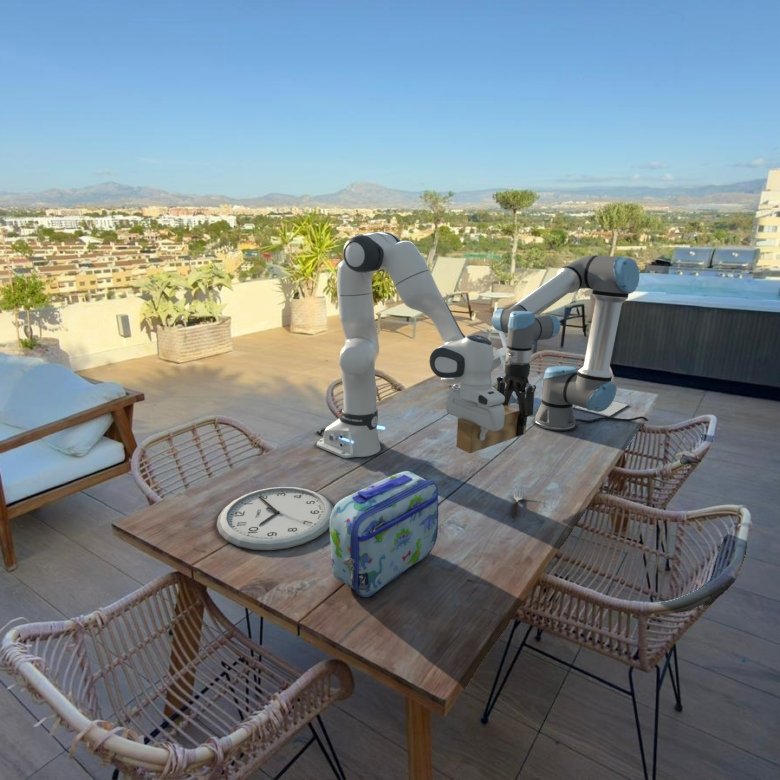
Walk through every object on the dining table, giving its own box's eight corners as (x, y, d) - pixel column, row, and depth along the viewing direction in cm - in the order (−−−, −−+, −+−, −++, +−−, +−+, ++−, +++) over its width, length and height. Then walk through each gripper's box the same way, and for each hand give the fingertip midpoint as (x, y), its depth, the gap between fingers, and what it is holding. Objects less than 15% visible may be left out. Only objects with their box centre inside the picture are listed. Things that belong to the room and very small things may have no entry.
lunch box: (357, 610, 104) (357, 517, 98) (324, 584, 111) (322, 496, 105) (442, 556, 121) (446, 474, 115) (408, 536, 129) (411, 459, 122)
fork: (507, 519, 137) (507, 512, 137) (515, 491, 152) (515, 485, 151) (517, 521, 136) (518, 514, 136) (524, 493, 151) (524, 487, 150)
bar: (511, 428, 172) (513, 402, 169) (525, 434, 168) (528, 407, 165) (456, 447, 157) (457, 419, 154) (470, 453, 153) (472, 424, 150)
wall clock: (333, 542, 123) (202, 546, 121) (333, 547, 124) (203, 552, 121) (335, 482, 152) (229, 485, 149) (335, 487, 152) (230, 490, 150)
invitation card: (608, 416, 214) (573, 407, 224) (608, 416, 214) (573, 408, 224) (628, 404, 229) (594, 396, 238) (628, 405, 229) (594, 397, 238)
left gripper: (442, 384, 157) (440, 427, 162) (494, 402, 142) (490, 449, 146) (457, 381, 161) (455, 423, 165) (509, 398, 146) (505, 444, 150)
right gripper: (486, 357, 165) (481, 425, 172) (535, 370, 151) (527, 444, 158) (502, 354, 170) (496, 421, 177) (551, 366, 156) (543, 438, 163)
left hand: (472, 435), depth 156 cm, fingers closed on bar, 6 cm apart
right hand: (511, 431), depth 168 cm, fingers closed on bar, 6 cm apart
